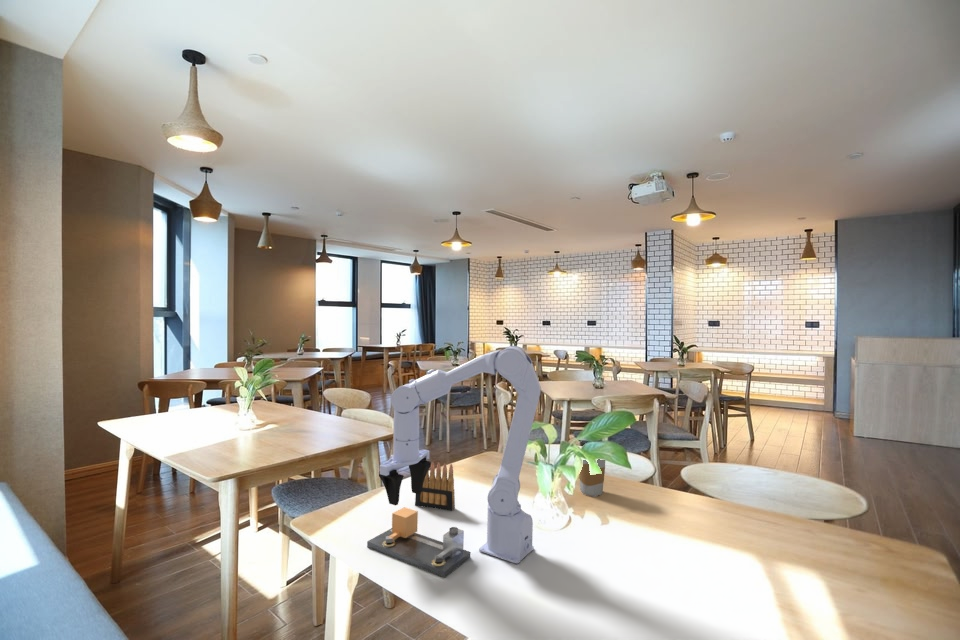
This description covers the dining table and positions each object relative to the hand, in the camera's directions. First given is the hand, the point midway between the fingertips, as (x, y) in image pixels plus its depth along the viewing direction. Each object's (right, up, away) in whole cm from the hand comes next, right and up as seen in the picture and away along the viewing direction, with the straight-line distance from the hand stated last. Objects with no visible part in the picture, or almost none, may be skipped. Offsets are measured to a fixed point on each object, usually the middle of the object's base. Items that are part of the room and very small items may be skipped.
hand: (405, 498), depth 103 cm
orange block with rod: (-1, -8, -2) cm, 8 cm away
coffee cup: (+49, -10, +30) cm, 59 cm away
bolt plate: (+4, -10, -5) cm, 11 cm away
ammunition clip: (+5, -10, +18) cm, 21 cm away
